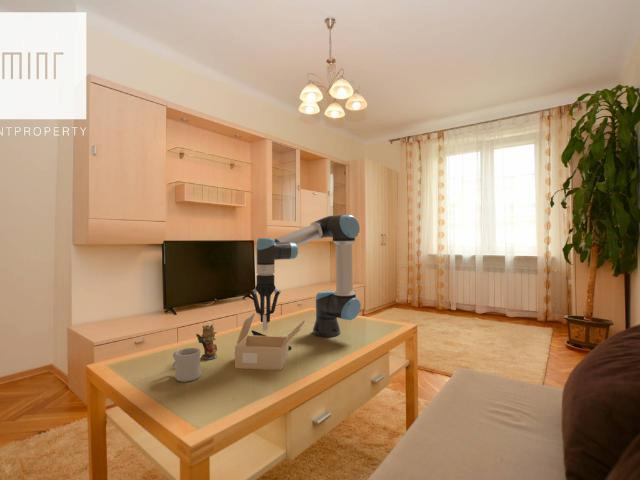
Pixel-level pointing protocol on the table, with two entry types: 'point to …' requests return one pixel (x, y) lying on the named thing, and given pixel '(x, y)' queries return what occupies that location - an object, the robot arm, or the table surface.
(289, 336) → the right flap
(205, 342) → the figurine
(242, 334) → the left flap
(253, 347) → the carton
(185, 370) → the mug
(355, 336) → the table surface
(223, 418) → the table surface
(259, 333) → the game console
